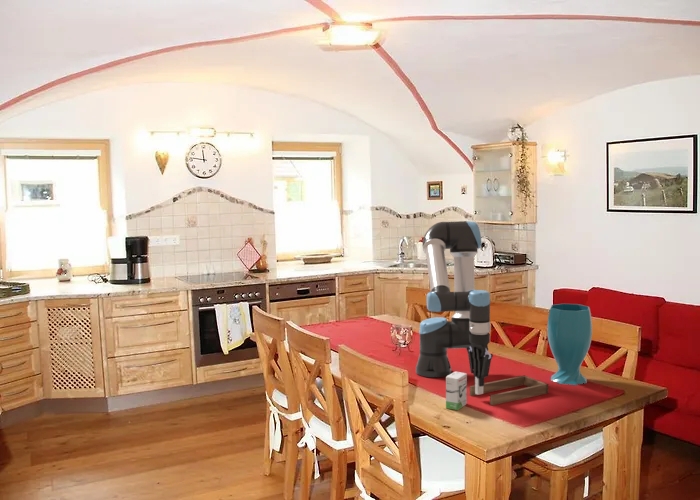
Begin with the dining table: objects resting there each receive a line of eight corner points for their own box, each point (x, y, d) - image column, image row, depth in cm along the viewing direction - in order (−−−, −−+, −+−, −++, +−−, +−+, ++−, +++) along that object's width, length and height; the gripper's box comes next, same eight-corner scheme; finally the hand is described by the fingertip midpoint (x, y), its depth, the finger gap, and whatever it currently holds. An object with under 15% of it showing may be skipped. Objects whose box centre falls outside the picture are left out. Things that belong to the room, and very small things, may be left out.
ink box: (457, 410, 238) (457, 378, 236) (445, 408, 240) (445, 376, 239) (467, 403, 245) (467, 372, 244) (455, 401, 248) (455, 370, 246)
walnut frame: (469, 395, 254) (469, 386, 254) (524, 383, 267) (524, 375, 266) (491, 405, 242) (491, 396, 242) (548, 393, 255) (548, 384, 254)
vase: (567, 388, 260) (568, 313, 256) (537, 376, 275) (538, 305, 272) (600, 382, 267) (602, 308, 263) (570, 371, 282) (571, 301, 279)
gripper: (460, 329, 249) (460, 390, 252) (482, 337, 238) (482, 400, 241) (476, 327, 253) (476, 387, 256) (498, 334, 241) (498, 397, 244)
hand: (479, 393), depth 248 cm, fingers closed
